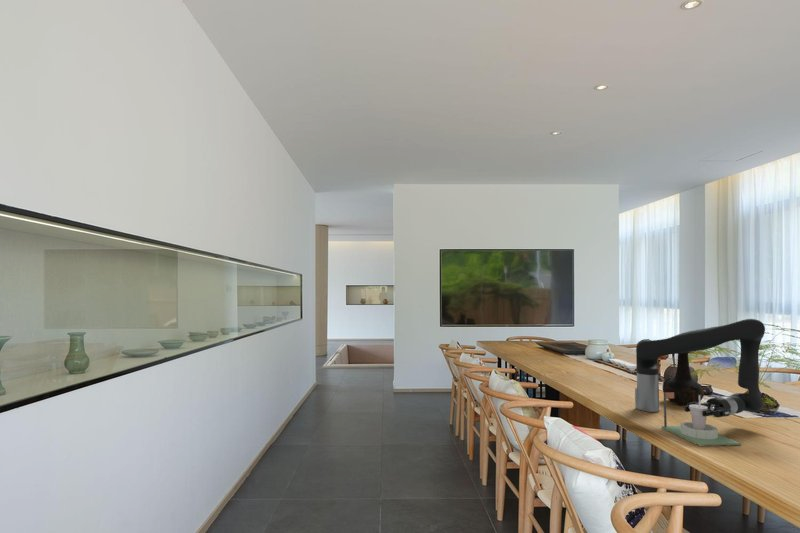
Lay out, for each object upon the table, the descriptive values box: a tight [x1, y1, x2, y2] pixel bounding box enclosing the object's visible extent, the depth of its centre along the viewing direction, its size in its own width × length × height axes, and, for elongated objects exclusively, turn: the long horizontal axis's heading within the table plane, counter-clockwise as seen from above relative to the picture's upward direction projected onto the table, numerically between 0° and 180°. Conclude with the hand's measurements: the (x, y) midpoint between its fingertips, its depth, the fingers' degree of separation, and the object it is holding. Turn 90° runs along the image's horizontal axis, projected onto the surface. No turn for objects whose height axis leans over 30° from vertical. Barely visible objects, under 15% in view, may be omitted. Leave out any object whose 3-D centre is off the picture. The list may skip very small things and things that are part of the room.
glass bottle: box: [662, 352, 705, 406], centre depth 233 cm, size 18×18×28 cm
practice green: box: [661, 392, 742, 446], centre depth 182 cm, size 22×16×15 cm
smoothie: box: [689, 395, 708, 430], centre depth 182 cm, size 6×6×14 cm
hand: (694, 411), depth 181 cm, fingers closed on smoothie, 6 cm apart
